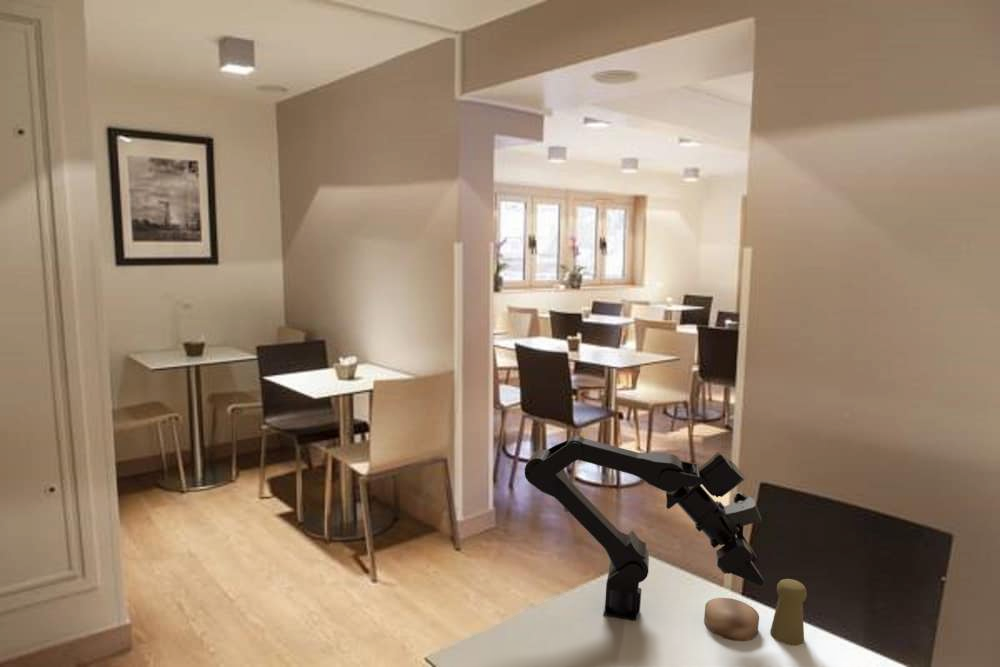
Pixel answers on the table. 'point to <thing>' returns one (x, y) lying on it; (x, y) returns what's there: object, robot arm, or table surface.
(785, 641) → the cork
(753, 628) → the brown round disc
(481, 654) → the table surface
